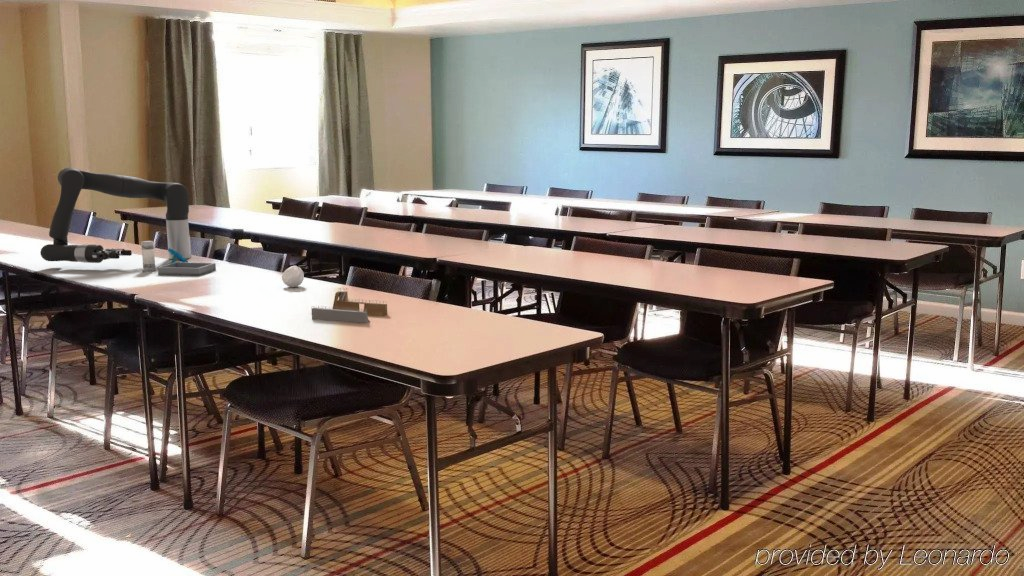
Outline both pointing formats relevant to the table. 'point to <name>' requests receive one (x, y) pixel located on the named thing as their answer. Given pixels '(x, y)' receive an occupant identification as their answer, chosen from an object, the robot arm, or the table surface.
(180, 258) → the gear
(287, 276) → the white ball
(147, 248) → the fuse
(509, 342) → the table surface
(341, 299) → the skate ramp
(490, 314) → the table surface
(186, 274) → the parts tray
